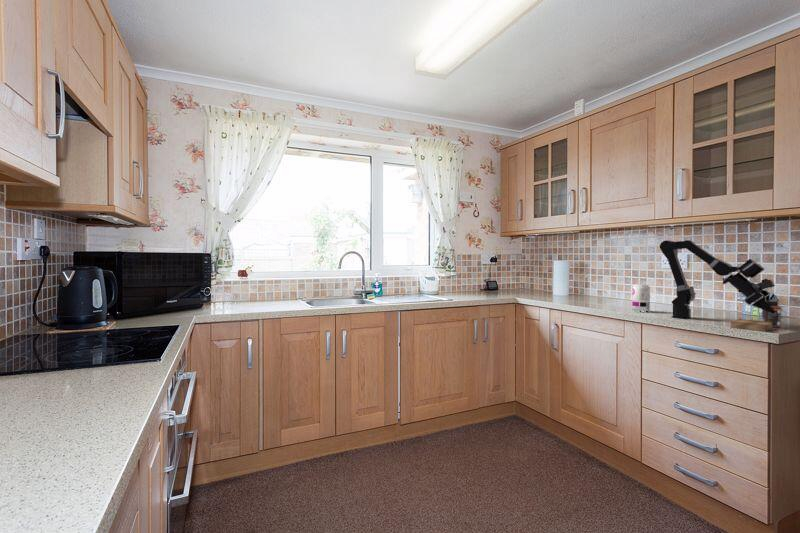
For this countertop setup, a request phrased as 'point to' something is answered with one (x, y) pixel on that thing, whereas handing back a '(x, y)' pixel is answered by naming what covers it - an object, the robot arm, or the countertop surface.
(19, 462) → the countertop surface
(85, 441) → the countertop surface
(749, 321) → the trivet
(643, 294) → the supplement can
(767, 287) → the robot arm
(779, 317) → the supplement bottle
